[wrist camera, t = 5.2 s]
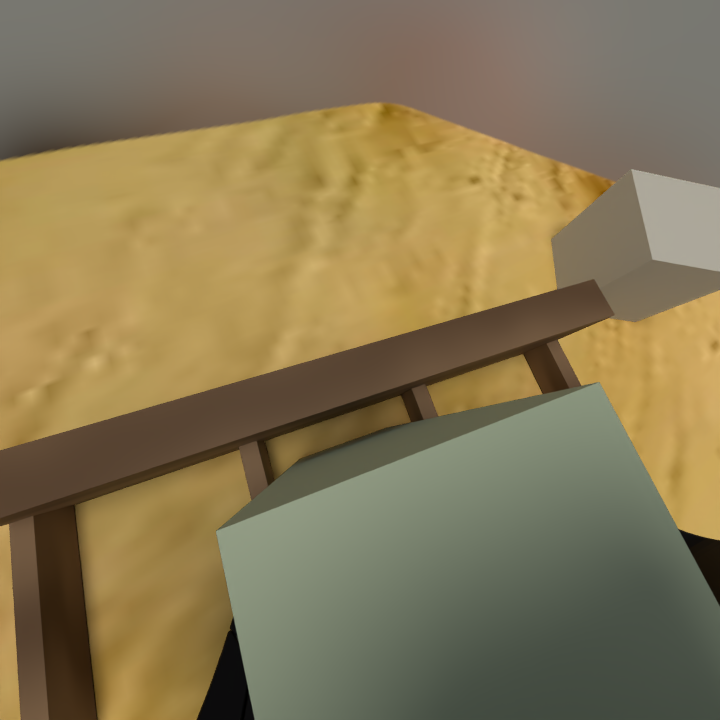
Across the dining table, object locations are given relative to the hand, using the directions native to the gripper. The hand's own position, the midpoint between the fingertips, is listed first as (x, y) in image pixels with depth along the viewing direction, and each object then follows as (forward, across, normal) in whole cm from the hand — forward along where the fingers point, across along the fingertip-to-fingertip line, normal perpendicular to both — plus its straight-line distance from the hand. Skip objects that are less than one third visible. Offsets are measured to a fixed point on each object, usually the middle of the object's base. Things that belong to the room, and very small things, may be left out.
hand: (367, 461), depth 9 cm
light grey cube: (+9, -21, +1) cm, 23 cm away
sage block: (+4, 0, +6) cm, 7 cm away
